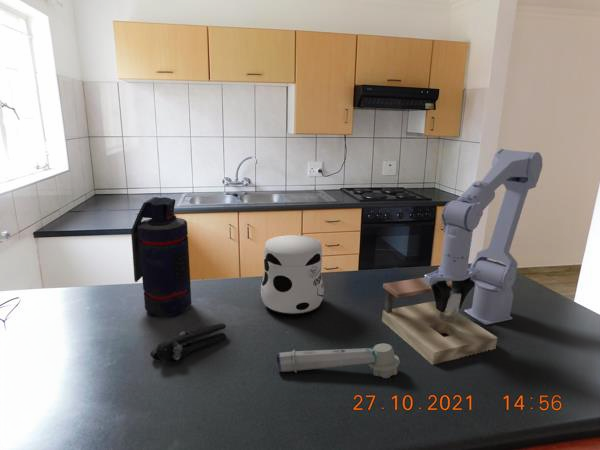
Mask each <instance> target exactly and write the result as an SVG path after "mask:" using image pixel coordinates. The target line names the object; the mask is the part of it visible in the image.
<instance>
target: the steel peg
mask: <svg viewBox="0 0 600 450" xmlns="http://www.w3.org/2000/svg"><path fill="white" fill-rule="evenodd" d="M461 294H462V293H461V291H460V290H458V289H456V288H452V290H451V292H450V294H449V296H448V299H447V304H446V309H445V311H444V312H440V314H439V318H440V319H441V320H442V321H445V322H448V323H454V322H456V321H457V317H458V313H459V312H460V311H459V310H460V309H459V305H460V299H461Z"/></svg>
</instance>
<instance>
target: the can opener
mask: <svg viewBox="0 0 600 450" xmlns="http://www.w3.org/2000/svg"><path fill="white" fill-rule="evenodd" d="M225 328H227V325H226V323H223V322H222V323H217V324H211V325H207V326H203V327H199V328H195V329H193V330H189V331H181V332H180V333H179V334H178V335H176V336H173V337H171V338H168V339H166V340H164V341H162V342H160V343H158V344H157V346H156V347H155V348H154V349H152V350H151V351H150V355H149V356H150V357H151V358H152V359H153V360H154V361H155V360H156V361H162V362H164V363H166V364H173V365H174V364H179V363H181V362H182V361H183V360H184V358H185V356H187V355H188V353H190V352H191V351H194V350H196V349H199V348H200V349H201V348H202V347H206V346H211V345H213V344H215V343H219V342H220V341H222V340H224V339H225V338H226V337H227V334H226V333H225V332H220V333H216V332H219V331H222V330H224V329H225ZM213 333H216V334H213ZM210 334H212V335H210ZM207 335H209V336H207ZM204 336H206V337H204ZM199 338H200V339H199Z"/></svg>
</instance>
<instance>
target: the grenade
mask: <svg viewBox="0 0 600 450" xmlns="http://www.w3.org/2000/svg"><path fill="white" fill-rule="evenodd" d="M175 205H176V199H173V198H169V197H158V196H155V197H152V198H149V199H147V200H146V201H144V202H143V204H142V206H141V208H140V209H139V211H138V213H137V215H136V217H135V220H134V223H133V225H132V228H131V230H130V231H131V232H130V234H131V249H132V263H133V264H132V265H133V277H134V278H133V280H134V283H137V282H138V281H139V280H141V279H142V289H143V291H144V292H143V299H144V300H143V301H144V309H145V311H146V312H147V313H148V315H149V316H150V317H154V316H159V317H160V316H162V317H163V316H164V317H165V316H172V318H173V317H174V318H177V317H180V316H181V315H183V314H184V311H186V310H187V309H189V308H190V306H191V305H192V290H191V269H190V252H189V250H190V249H189V235H188V233H189V232H188V231H189V230H188V222H187V220H186V219H183V218H181V217H177V215H176V214H175V213H174V211H175ZM143 219H145V220H143Z"/></svg>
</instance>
